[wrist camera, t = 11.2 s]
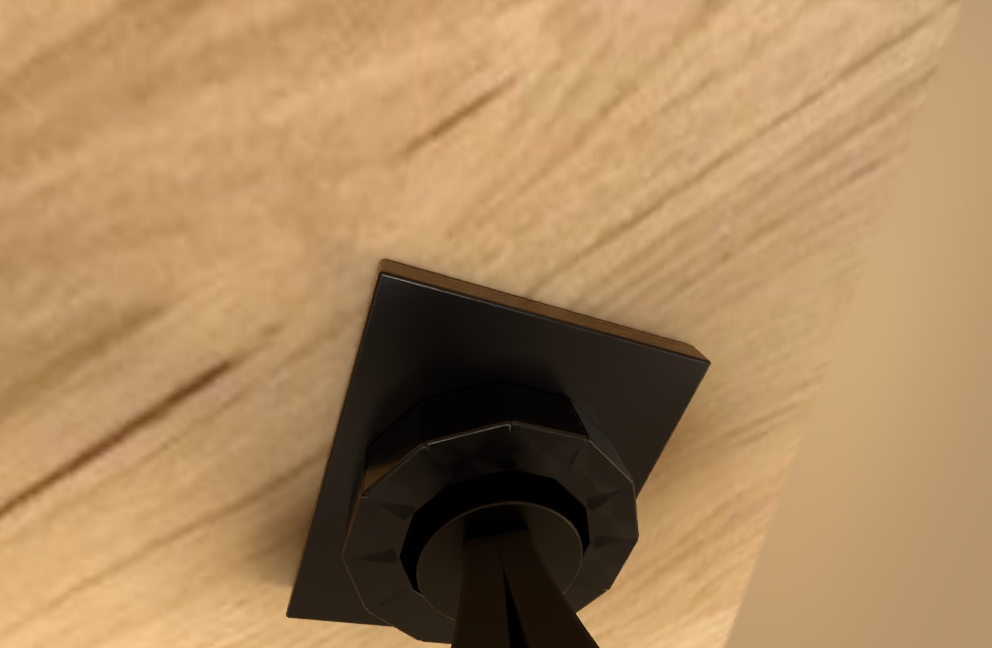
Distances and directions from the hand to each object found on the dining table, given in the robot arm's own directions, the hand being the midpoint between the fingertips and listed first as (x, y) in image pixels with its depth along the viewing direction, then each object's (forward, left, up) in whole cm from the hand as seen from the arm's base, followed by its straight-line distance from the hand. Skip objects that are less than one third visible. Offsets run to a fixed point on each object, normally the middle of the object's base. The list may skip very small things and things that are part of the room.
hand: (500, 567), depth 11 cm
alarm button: (0, 0, -2) cm, 2 cm away
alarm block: (0, 0, -3) cm, 3 cm away
